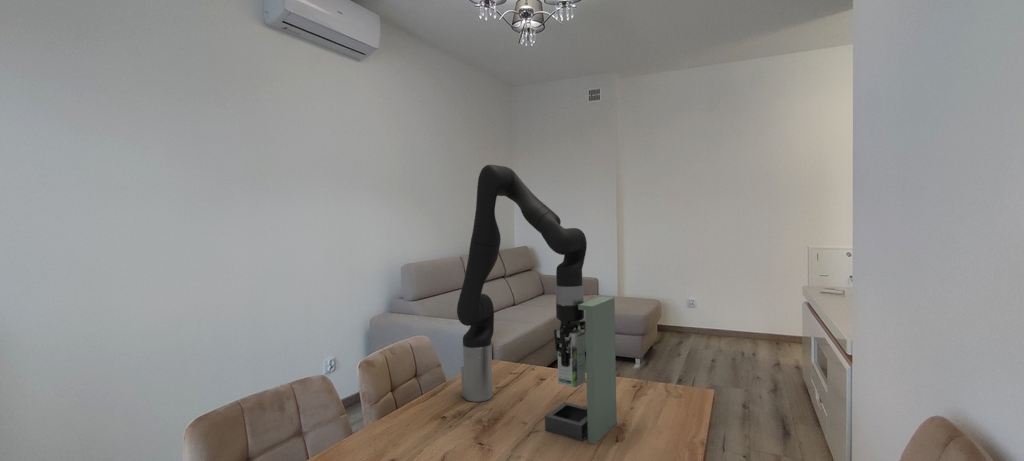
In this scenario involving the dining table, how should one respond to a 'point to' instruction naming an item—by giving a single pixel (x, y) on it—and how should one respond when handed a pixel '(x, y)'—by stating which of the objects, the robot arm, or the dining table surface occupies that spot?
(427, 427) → the dining table surface
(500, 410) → the dining table surface
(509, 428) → the dining table surface
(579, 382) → the syrup box
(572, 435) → the socket
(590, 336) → the long narrow green plank
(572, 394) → the dining table surface
